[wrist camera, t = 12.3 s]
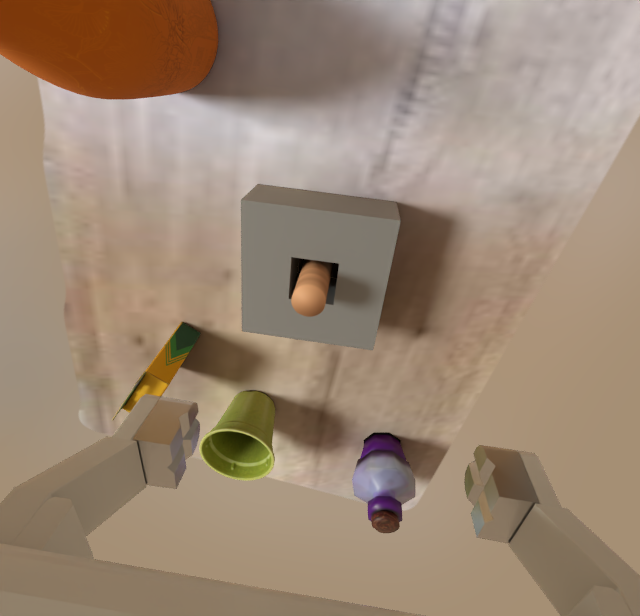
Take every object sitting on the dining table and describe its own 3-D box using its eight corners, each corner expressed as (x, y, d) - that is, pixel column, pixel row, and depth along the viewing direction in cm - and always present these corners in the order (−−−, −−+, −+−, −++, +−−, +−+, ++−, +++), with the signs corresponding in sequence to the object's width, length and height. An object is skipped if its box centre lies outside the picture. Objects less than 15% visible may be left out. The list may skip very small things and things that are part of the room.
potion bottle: (345, 455, 58) (340, 536, 48) (363, 417, 54) (362, 497, 43) (399, 470, 58) (406, 554, 48) (422, 434, 54) (434, 516, 44)
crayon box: (178, 367, 53) (134, 433, 43) (159, 355, 52) (109, 420, 42) (202, 333, 49) (161, 397, 39) (182, 320, 48) (134, 382, 39)
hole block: (257, 184, 39) (241, 199, 34) (396, 202, 38) (400, 220, 33) (255, 303, 46) (241, 331, 41) (372, 319, 45) (373, 350, 40)
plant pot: (265, 438, 58) (249, 490, 51) (210, 407, 56) (186, 457, 48) (299, 403, 54) (288, 455, 46) (242, 369, 52) (221, 417, 44)
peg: (307, 242, 41) (292, 284, 33) (335, 246, 41) (327, 289, 33) (305, 267, 43) (290, 314, 34) (332, 271, 43) (323, 318, 34)
